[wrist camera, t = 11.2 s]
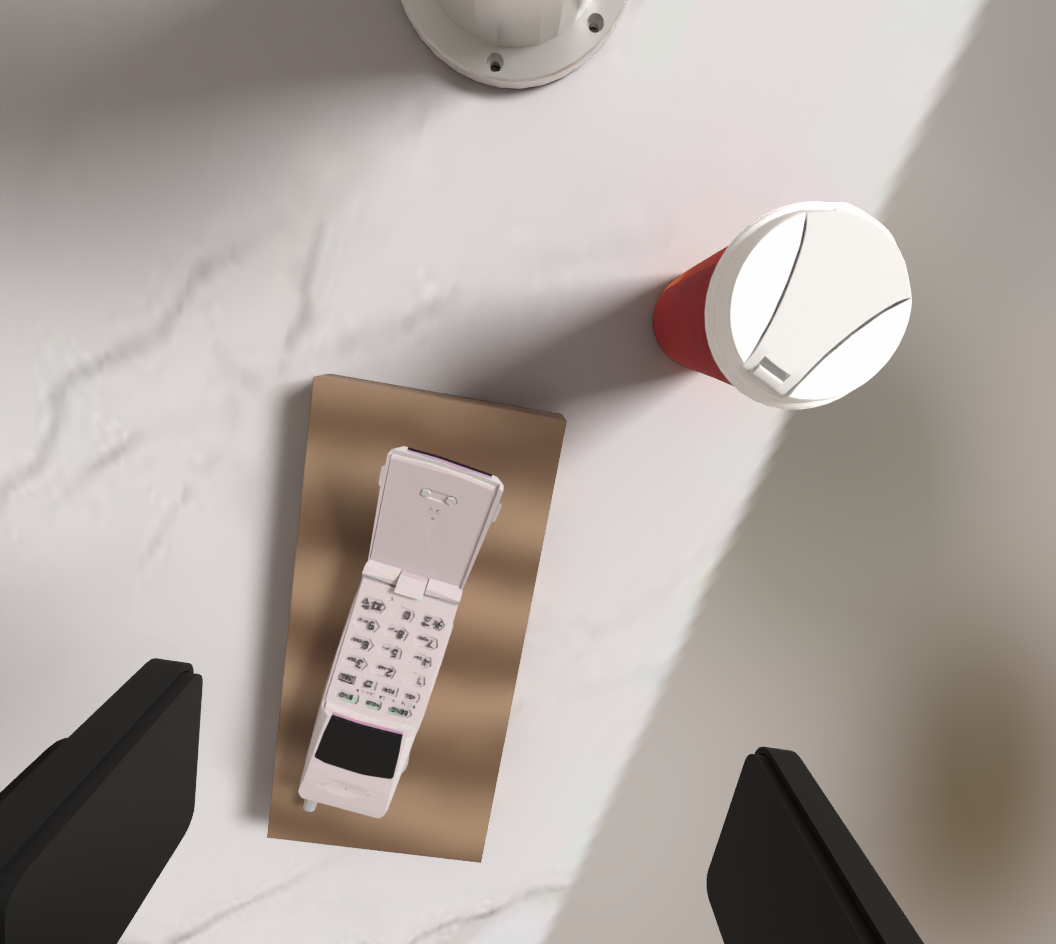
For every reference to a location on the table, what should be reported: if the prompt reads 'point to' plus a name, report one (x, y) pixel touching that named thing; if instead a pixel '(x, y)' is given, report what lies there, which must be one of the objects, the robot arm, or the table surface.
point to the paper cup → (791, 306)
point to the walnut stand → (479, 624)
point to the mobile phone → (397, 628)
